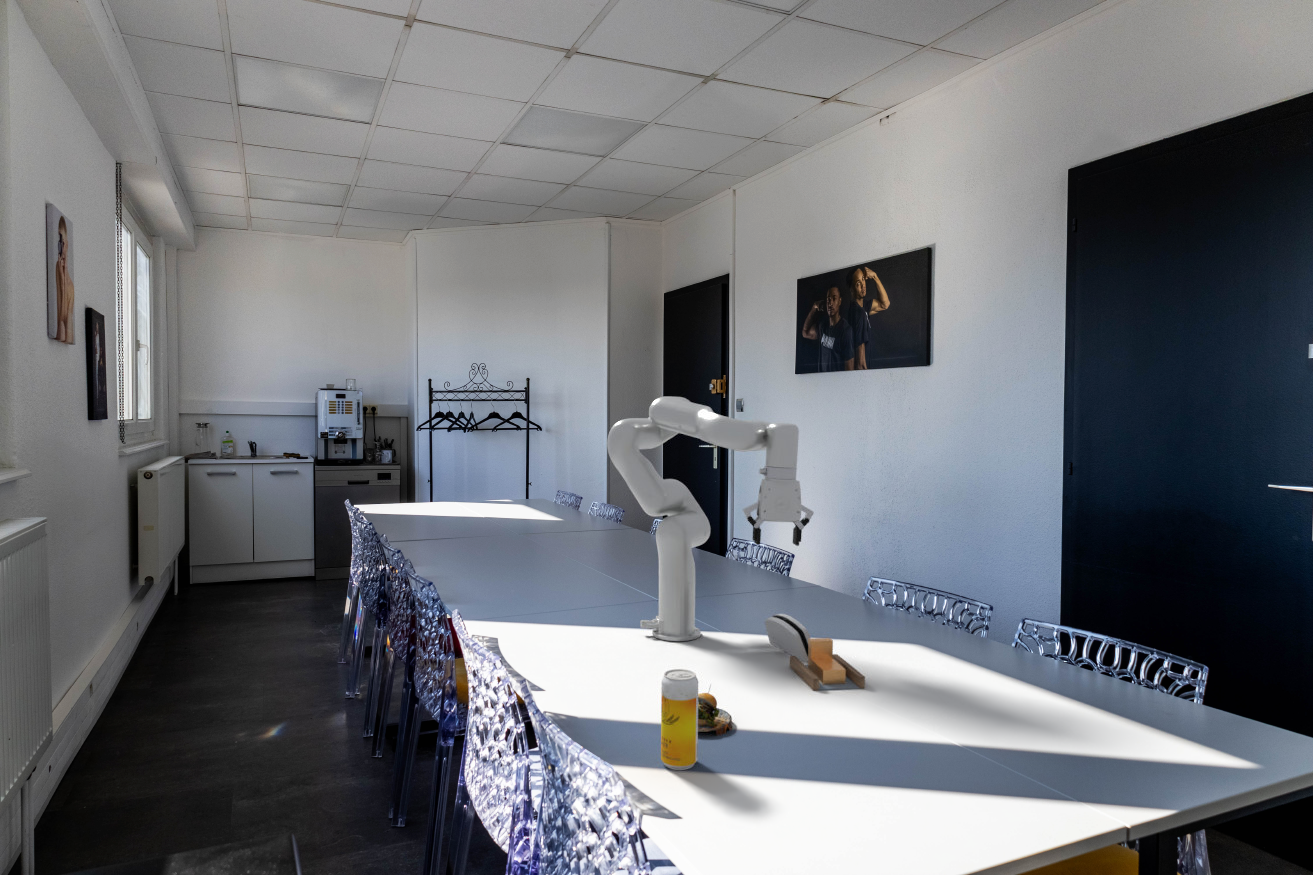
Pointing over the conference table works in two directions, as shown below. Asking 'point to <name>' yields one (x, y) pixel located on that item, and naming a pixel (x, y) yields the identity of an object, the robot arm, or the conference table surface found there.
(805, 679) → the bay walls
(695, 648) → the conference table surface
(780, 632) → the grey slotted curved block
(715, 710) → the burger
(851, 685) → the bay mat
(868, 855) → the conference table surface
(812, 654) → the bracket
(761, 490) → the robot arm
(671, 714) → the beer can
